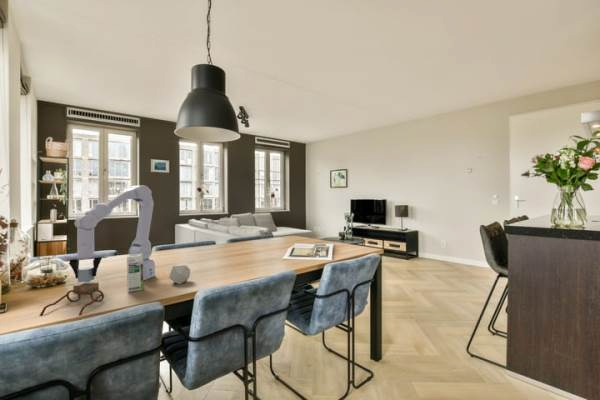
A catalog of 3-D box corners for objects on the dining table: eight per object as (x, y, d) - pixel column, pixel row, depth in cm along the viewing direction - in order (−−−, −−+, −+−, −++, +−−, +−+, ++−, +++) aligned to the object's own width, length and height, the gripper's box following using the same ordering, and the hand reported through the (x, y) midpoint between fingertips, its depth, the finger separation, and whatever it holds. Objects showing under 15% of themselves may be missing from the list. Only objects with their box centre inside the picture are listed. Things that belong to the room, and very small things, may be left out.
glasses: (104, 302, 108) (104, 288, 108) (79, 316, 95) (79, 301, 95) (68, 302, 107) (68, 289, 107) (38, 317, 94) (37, 302, 94)
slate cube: (94, 279, 122) (94, 267, 122) (88, 281, 118) (88, 269, 118) (84, 279, 122) (84, 267, 122) (77, 282, 118) (77, 269, 118)
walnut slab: (98, 289, 122) (98, 282, 122) (84, 294, 117) (84, 286, 117) (87, 288, 124) (87, 281, 124) (73, 292, 118) (73, 285, 118)
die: (194, 284, 131) (194, 263, 137) (180, 278, 124) (181, 257, 130) (178, 289, 133) (179, 269, 139) (164, 284, 126) (165, 263, 132)
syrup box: (127, 292, 118) (127, 256, 117) (127, 288, 123) (126, 254, 122) (143, 290, 121) (143, 255, 120) (142, 286, 126) (142, 252, 125)
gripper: (108, 241, 127) (108, 272, 127) (66, 243, 120) (66, 276, 120) (105, 243, 121) (106, 276, 121) (61, 246, 114) (62, 281, 114)
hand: (86, 276), depth 120 cm, fingers closed on slate cube, 5 cm apart
